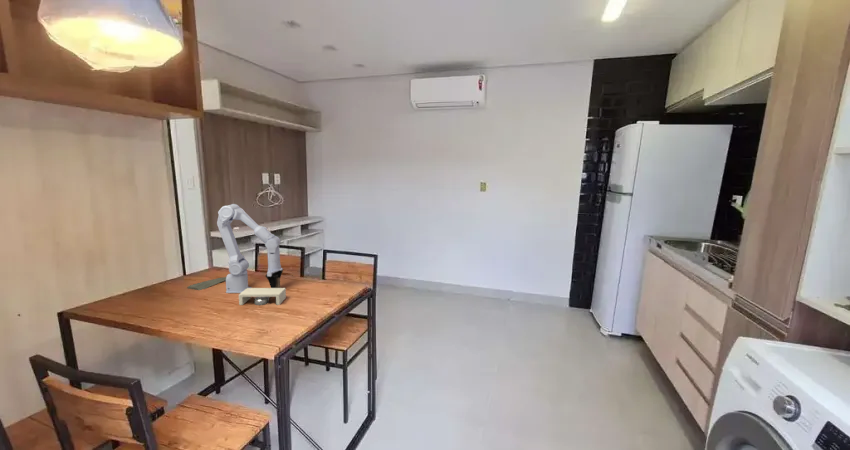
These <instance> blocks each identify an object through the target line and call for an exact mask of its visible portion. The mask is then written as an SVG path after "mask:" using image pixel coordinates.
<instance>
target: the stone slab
mask: <svg viewBox="0 0 850 450" xmlns="http://www.w3.org/2000/svg"><path fill="white" fill-rule="evenodd" d="M226 277H227V276H223V277H217V278H215V279H214V278H213V279H209V280H204V281H202V282H197V283H193V284H191V285H189V286H187V287H186V288H187V289H188V290H189V289H190V290H194V291H203V290H206V289H208V288H210V287H212V286H215V285H217V284H220V283H222V282H226ZM202 289H203V290H202Z"/></svg>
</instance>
